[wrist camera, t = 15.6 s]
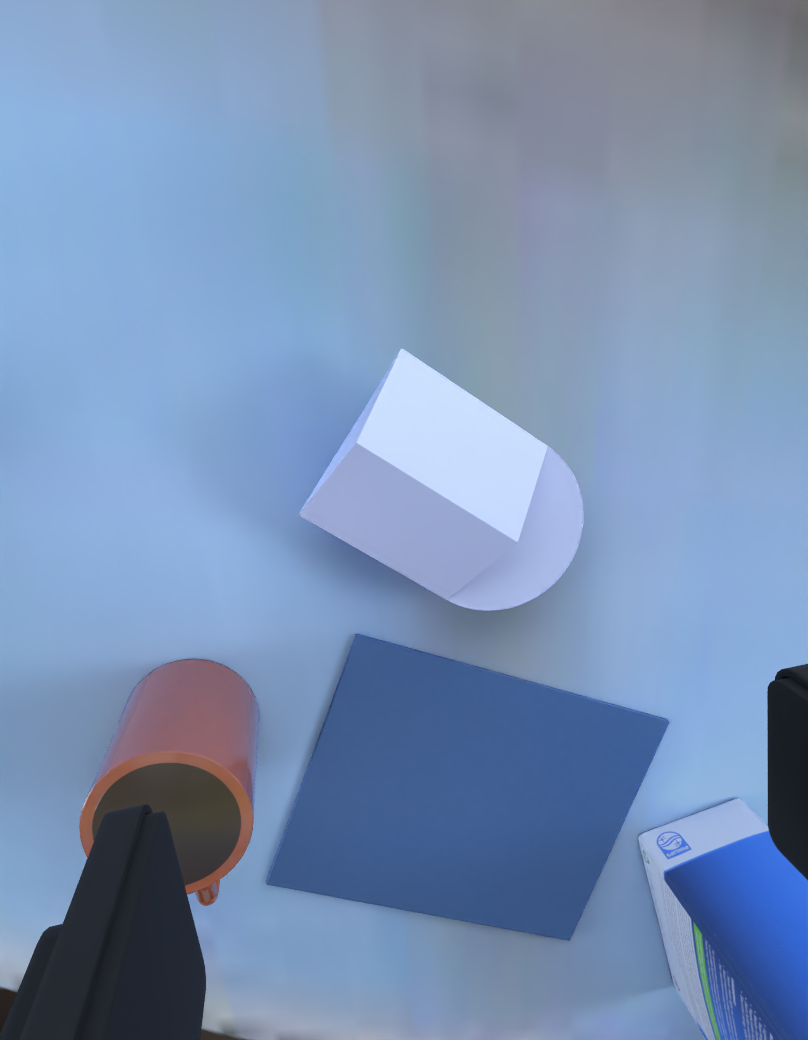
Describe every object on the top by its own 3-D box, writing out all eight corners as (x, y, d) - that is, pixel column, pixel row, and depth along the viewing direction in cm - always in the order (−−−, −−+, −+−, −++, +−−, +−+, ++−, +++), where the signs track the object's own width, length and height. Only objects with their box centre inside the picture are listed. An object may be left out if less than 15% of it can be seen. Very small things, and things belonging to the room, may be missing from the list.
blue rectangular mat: (266, 880, 42) (266, 884, 42) (356, 633, 39) (357, 635, 39) (567, 937, 47) (569, 940, 46) (667, 719, 44) (669, 721, 44)
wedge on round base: (296, 499, 37) (498, 616, 40) (299, 533, 31) (539, 669, 34) (390, 347, 36) (590, 480, 39) (414, 349, 30) (650, 508, 33)
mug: (108, 675, 38) (56, 775, 29) (243, 645, 38) (231, 733, 30) (157, 833, 40) (123, 968, 32) (282, 801, 41) (283, 925, 32)
